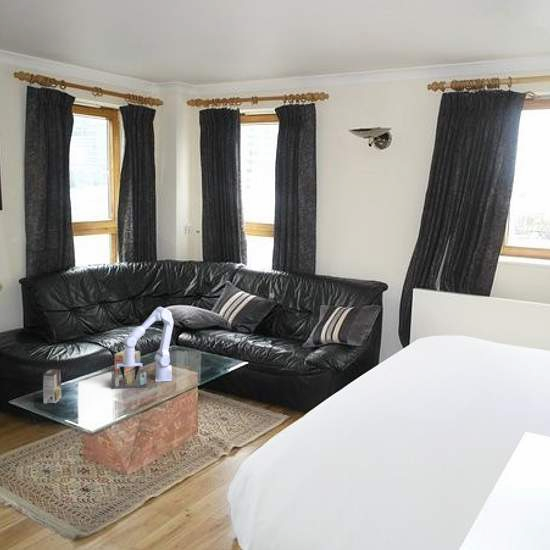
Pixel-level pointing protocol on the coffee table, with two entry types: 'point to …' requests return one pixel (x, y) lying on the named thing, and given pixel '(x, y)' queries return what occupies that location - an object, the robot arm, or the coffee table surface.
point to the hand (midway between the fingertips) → (129, 379)
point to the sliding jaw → (143, 378)
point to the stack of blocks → (121, 359)
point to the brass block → (129, 379)
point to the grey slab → (125, 383)
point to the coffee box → (52, 386)
